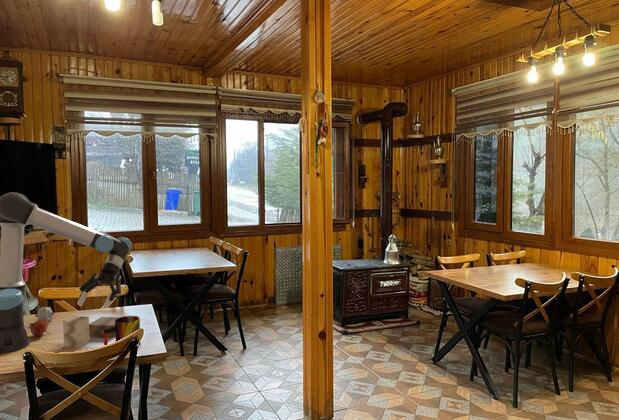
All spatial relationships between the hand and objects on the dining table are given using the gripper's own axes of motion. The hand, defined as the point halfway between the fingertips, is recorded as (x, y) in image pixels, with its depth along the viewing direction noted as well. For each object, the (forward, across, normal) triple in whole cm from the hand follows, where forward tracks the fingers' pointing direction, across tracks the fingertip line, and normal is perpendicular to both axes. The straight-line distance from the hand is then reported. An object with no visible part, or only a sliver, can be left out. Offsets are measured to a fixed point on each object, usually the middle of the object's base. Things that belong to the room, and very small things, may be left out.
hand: (92, 306), depth 207 cm
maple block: (+17, 0, -3) cm, 17 cm away
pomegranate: (+13, +24, -7) cm, 28 cm away
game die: (+1, +37, -19) cm, 42 cm away
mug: (+18, -24, -2) cm, 30 cm away
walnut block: (+6, -4, -14) cm, 15 cm away
